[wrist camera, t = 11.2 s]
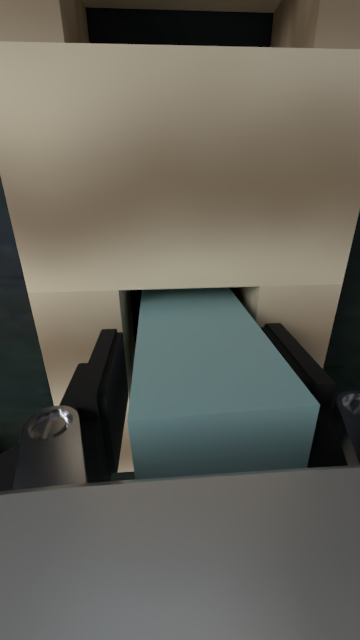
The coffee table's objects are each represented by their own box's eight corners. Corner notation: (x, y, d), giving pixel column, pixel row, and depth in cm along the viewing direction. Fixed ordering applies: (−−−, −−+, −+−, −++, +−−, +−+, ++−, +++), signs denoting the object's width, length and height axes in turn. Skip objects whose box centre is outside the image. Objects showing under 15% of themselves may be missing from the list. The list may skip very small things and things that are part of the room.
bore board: (-25, -219, 8) (-163, -526, 5) (370, -190, 9) (509, -439, 6) (87, 418, 18) (70, 475, 15) (274, 408, 19) (301, 460, 15)
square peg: (142, 280, 15) (127, 420, 6) (220, 275, 15) (320, 405, 6) (148, 348, 17) (143, 540, 7) (218, 343, 17) (294, 524, 8)
